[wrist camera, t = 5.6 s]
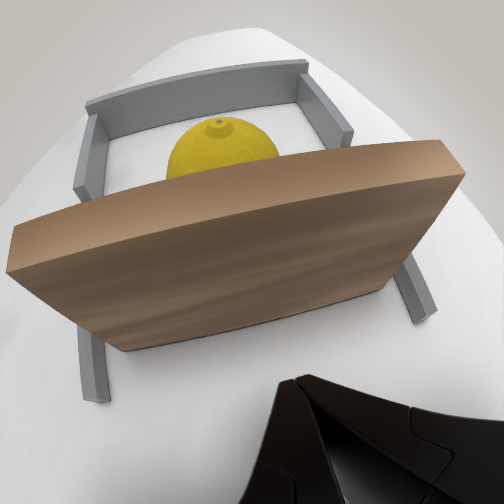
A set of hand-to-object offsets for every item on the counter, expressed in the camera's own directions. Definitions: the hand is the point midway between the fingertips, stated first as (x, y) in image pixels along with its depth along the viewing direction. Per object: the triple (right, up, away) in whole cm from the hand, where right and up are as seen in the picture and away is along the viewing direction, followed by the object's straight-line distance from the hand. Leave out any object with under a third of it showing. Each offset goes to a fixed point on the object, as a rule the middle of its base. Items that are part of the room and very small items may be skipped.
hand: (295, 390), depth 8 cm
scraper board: (-1, +1, +8) cm, 8 cm away
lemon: (-2, +5, +11) cm, 12 cm away
